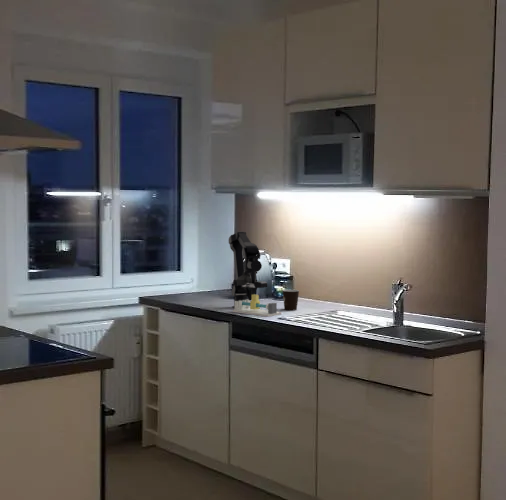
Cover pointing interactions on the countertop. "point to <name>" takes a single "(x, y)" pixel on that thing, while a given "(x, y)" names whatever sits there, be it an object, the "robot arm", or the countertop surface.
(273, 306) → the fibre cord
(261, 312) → the cable comb
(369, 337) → the countertop surface
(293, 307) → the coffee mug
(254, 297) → the sleeve
